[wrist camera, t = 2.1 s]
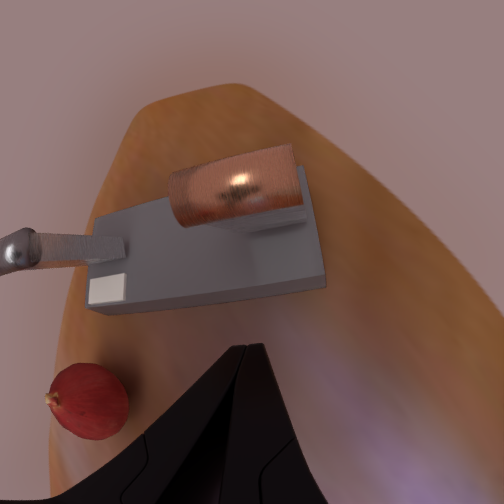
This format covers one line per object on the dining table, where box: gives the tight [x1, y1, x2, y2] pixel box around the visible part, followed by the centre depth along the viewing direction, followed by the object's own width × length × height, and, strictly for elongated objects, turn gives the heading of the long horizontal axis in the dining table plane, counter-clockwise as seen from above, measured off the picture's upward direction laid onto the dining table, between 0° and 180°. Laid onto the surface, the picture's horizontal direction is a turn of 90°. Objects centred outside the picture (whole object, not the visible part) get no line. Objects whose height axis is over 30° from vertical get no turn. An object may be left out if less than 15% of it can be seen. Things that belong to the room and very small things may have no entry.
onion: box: [45, 363, 129, 440], centre depth 17 cm, size 6×6×8 cm
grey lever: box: [0, 228, 126, 276], centre depth 16 cm, size 2×4×10 cm, turn 95°
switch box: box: [85, 165, 326, 316], centre depth 22 cm, size 8×18×3 cm, turn 96°
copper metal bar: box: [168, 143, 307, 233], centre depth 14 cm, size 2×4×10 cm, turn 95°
